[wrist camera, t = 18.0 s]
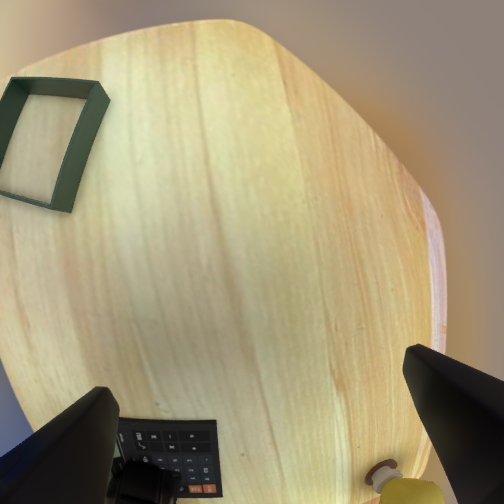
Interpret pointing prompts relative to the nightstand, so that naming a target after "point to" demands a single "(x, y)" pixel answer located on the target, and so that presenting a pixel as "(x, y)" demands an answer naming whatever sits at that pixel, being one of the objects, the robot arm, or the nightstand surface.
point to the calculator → (173, 452)
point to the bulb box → (9, 108)
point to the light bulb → (404, 488)
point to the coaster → (390, 463)
